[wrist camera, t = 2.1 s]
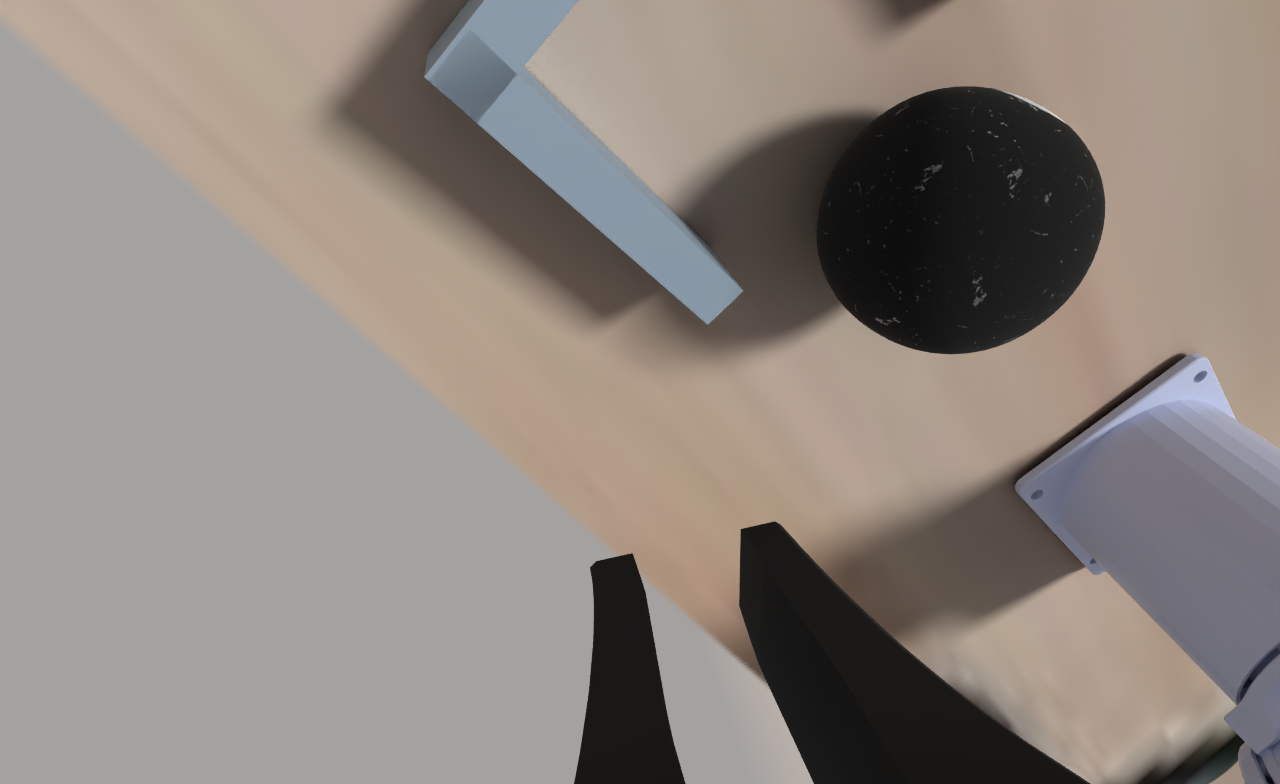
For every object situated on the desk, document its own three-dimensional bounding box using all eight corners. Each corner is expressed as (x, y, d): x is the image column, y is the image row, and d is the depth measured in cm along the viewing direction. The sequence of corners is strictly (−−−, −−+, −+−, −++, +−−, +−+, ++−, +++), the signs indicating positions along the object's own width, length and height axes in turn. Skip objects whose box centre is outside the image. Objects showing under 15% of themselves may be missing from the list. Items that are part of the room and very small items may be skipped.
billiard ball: (743, 245, 19) (841, 360, 14) (867, 21, 16) (1038, 71, 12) (901, 308, 22) (1029, 425, 17) (1032, 123, 19) (1228, 198, 14)
